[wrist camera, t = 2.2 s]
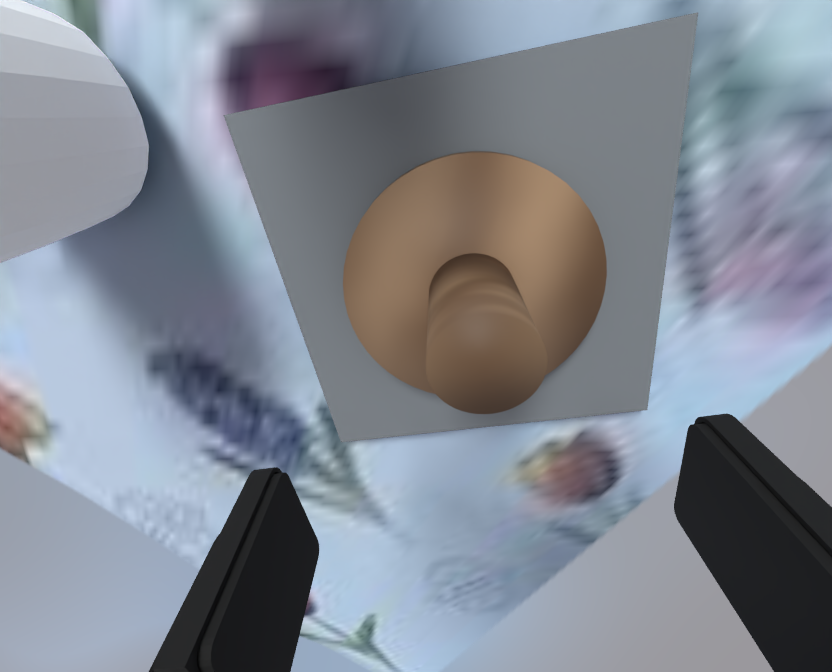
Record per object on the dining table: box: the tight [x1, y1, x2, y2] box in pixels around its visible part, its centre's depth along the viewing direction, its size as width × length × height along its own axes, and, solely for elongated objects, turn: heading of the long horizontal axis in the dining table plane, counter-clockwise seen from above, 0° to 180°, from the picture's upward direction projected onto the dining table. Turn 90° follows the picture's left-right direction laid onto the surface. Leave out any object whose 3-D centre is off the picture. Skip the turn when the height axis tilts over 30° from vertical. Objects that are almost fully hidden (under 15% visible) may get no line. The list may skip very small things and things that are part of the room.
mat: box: [224, 13, 698, 442], centre depth 20 cm, size 18×18×1 cm
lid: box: [343, 151, 607, 414], centre depth 16 cm, size 12×12×7 cm
